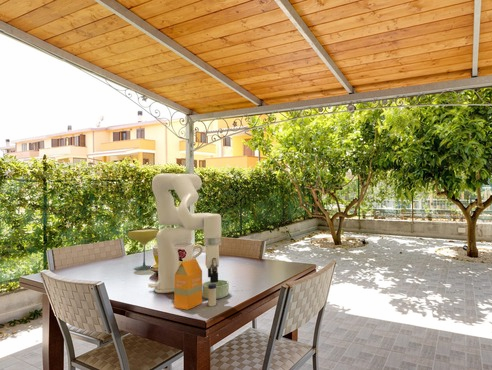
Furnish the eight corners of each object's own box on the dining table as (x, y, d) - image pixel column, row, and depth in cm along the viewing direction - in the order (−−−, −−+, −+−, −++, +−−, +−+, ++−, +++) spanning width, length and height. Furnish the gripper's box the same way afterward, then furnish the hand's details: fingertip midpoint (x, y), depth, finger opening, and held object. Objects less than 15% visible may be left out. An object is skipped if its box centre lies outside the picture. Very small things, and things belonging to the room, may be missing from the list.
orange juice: (174, 307, 139) (174, 261, 140) (188, 300, 147) (189, 257, 148) (188, 309, 136) (188, 263, 137) (202, 303, 145) (202, 259, 145)
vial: (208, 306, 140) (208, 286, 140) (207, 304, 143) (207, 284, 143) (216, 305, 142) (216, 285, 142) (215, 303, 145) (215, 283, 145)
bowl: (203, 301, 147) (203, 288, 147) (201, 293, 158) (201, 281, 158) (230, 297, 152) (230, 285, 152) (226, 290, 163) (226, 278, 163)
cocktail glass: (137, 273, 196) (137, 232, 196) (122, 269, 206) (122, 230, 206) (165, 267, 211) (165, 229, 211) (150, 263, 221) (150, 227, 221)
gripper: (202, 239, 149) (202, 276, 149) (205, 244, 133) (205, 285, 133) (218, 238, 152) (219, 274, 152) (224, 243, 137) (224, 283, 136)
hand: (212, 279), depth 142 cm, fingers open, 9 cm apart
